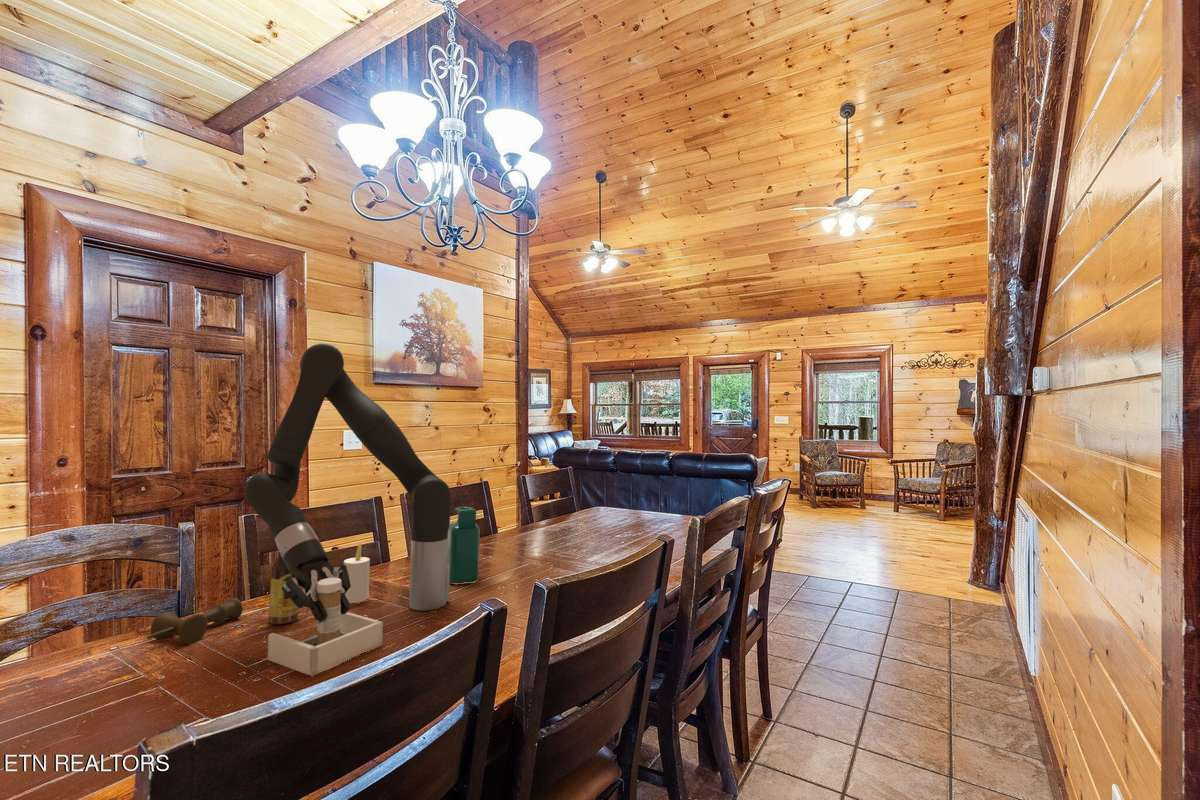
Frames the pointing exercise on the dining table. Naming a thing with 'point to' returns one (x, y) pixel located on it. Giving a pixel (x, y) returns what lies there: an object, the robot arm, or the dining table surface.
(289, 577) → the sauce bottle
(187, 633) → the kendama
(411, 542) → the robot arm
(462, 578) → the green bottle
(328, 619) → the sprinkles bottle
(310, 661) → the caddy
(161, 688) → the dining table surface
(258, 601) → the dining table surface
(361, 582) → the candle
